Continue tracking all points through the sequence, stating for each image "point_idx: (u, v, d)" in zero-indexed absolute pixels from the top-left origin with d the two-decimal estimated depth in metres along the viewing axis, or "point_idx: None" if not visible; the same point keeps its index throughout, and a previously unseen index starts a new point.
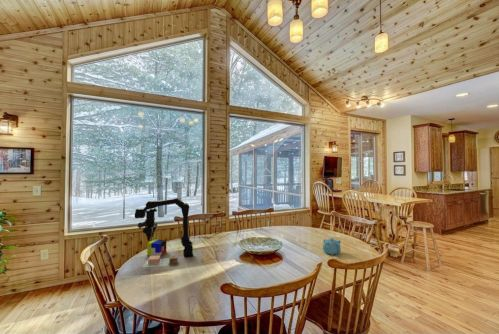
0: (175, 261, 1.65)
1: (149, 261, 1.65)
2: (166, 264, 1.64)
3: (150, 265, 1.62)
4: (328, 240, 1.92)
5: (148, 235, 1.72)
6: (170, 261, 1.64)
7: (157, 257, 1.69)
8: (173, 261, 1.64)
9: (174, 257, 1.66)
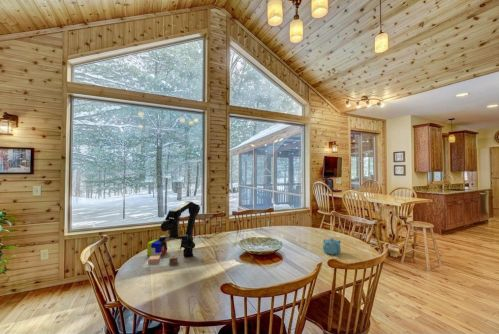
0: (175, 261, 1.65)
1: (149, 261, 1.65)
2: (166, 264, 1.64)
3: (150, 265, 1.62)
4: (328, 240, 1.92)
5: None
6: (170, 261, 1.64)
7: (157, 257, 1.69)
8: (173, 261, 1.64)
9: (174, 257, 1.66)
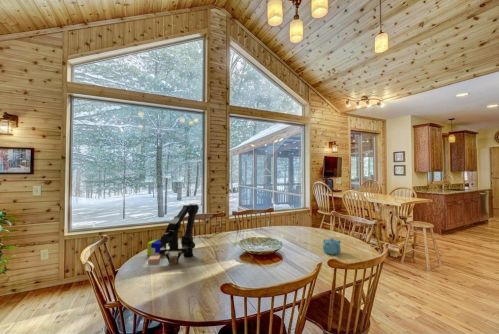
0: (175, 261, 1.65)
1: (149, 261, 1.65)
2: (166, 264, 1.64)
3: (150, 265, 1.62)
4: (328, 240, 1.92)
5: None
6: (170, 261, 1.64)
7: (157, 257, 1.69)
8: (173, 260, 1.64)
9: (174, 257, 1.66)
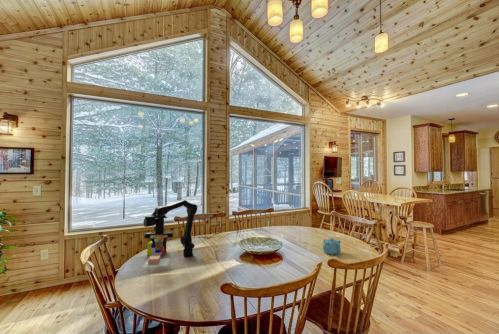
0: (160, 245, 1.66)
1: (149, 261, 1.65)
2: (166, 264, 1.64)
3: (150, 265, 1.62)
4: (328, 240, 1.92)
5: (153, 241, 1.67)
6: (155, 245, 1.65)
7: (157, 257, 1.69)
8: (159, 245, 1.66)
9: (160, 241, 1.67)
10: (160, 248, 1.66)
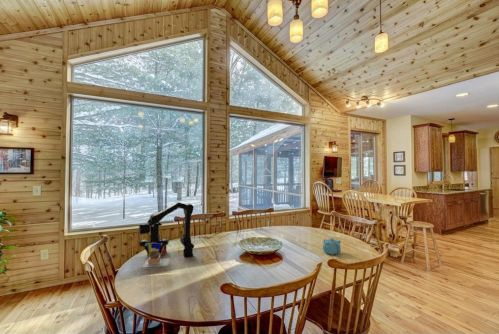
0: (156, 254, 1.67)
1: (149, 261, 1.65)
2: (166, 264, 1.64)
3: (150, 265, 1.62)
4: (328, 240, 1.92)
5: None
6: (151, 254, 1.66)
7: None
8: (154, 254, 1.66)
9: (155, 250, 1.68)
10: (155, 257, 1.67)
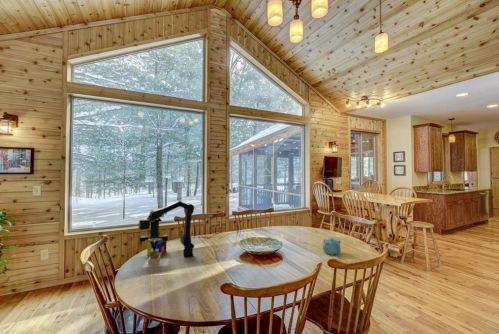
0: (156, 254, 1.67)
1: (149, 261, 1.65)
2: (166, 264, 1.64)
3: (150, 265, 1.62)
4: (328, 240, 1.92)
5: (152, 244, 1.69)
6: (151, 254, 1.66)
7: None
8: (154, 254, 1.66)
9: (155, 250, 1.68)
10: (155, 257, 1.67)
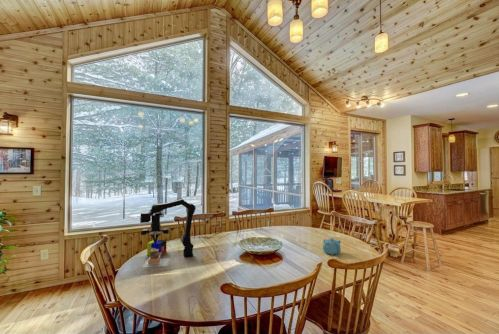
0: (156, 254, 1.67)
1: (149, 261, 1.65)
2: (166, 264, 1.64)
3: (150, 265, 1.62)
4: (328, 240, 1.92)
5: None
6: (151, 254, 1.66)
7: None
8: (154, 254, 1.66)
9: (155, 250, 1.68)
10: (155, 257, 1.67)
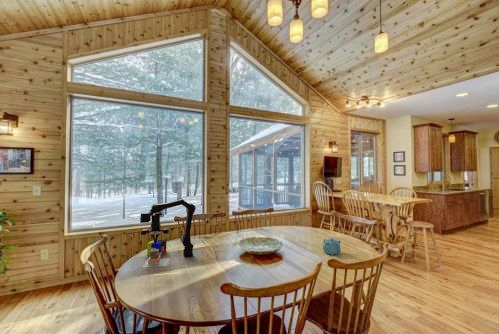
0: (156, 254, 1.67)
1: (149, 261, 1.65)
2: (166, 264, 1.64)
3: (150, 265, 1.62)
4: (328, 240, 1.92)
5: None
6: (151, 254, 1.66)
7: None
8: (154, 254, 1.66)
9: (155, 250, 1.68)
10: (155, 257, 1.67)
